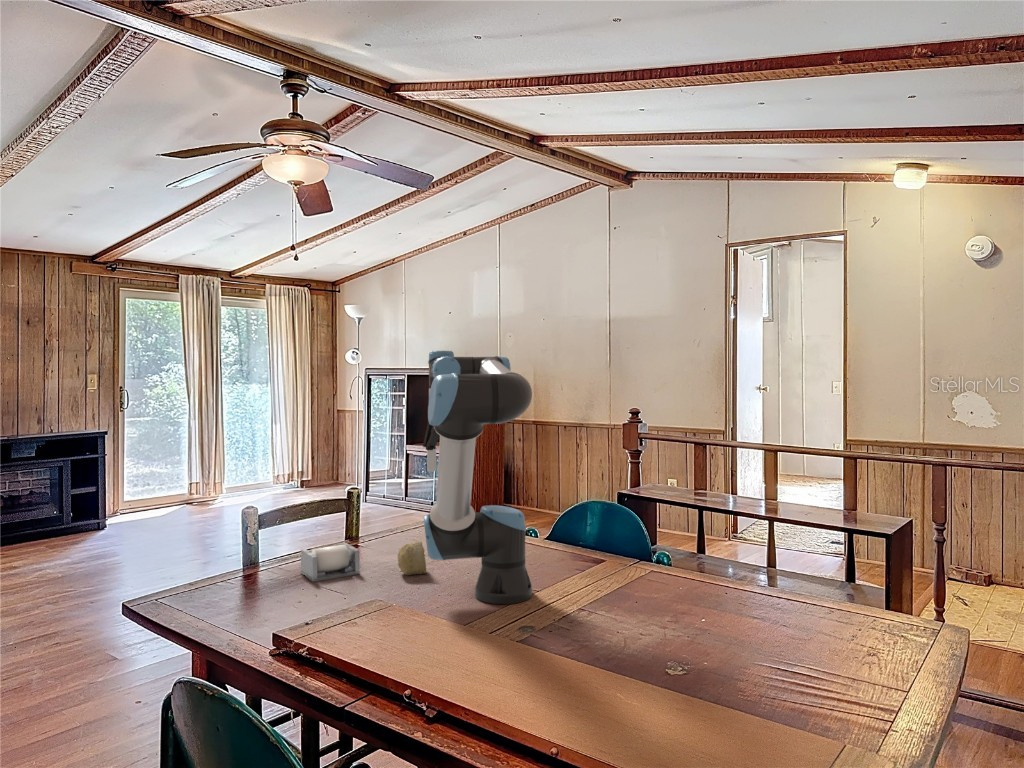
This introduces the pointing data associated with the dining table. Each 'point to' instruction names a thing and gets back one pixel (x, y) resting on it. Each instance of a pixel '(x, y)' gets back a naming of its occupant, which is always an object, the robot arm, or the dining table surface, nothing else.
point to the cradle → (311, 571)
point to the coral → (412, 559)
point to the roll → (331, 558)
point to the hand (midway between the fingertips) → (442, 474)
